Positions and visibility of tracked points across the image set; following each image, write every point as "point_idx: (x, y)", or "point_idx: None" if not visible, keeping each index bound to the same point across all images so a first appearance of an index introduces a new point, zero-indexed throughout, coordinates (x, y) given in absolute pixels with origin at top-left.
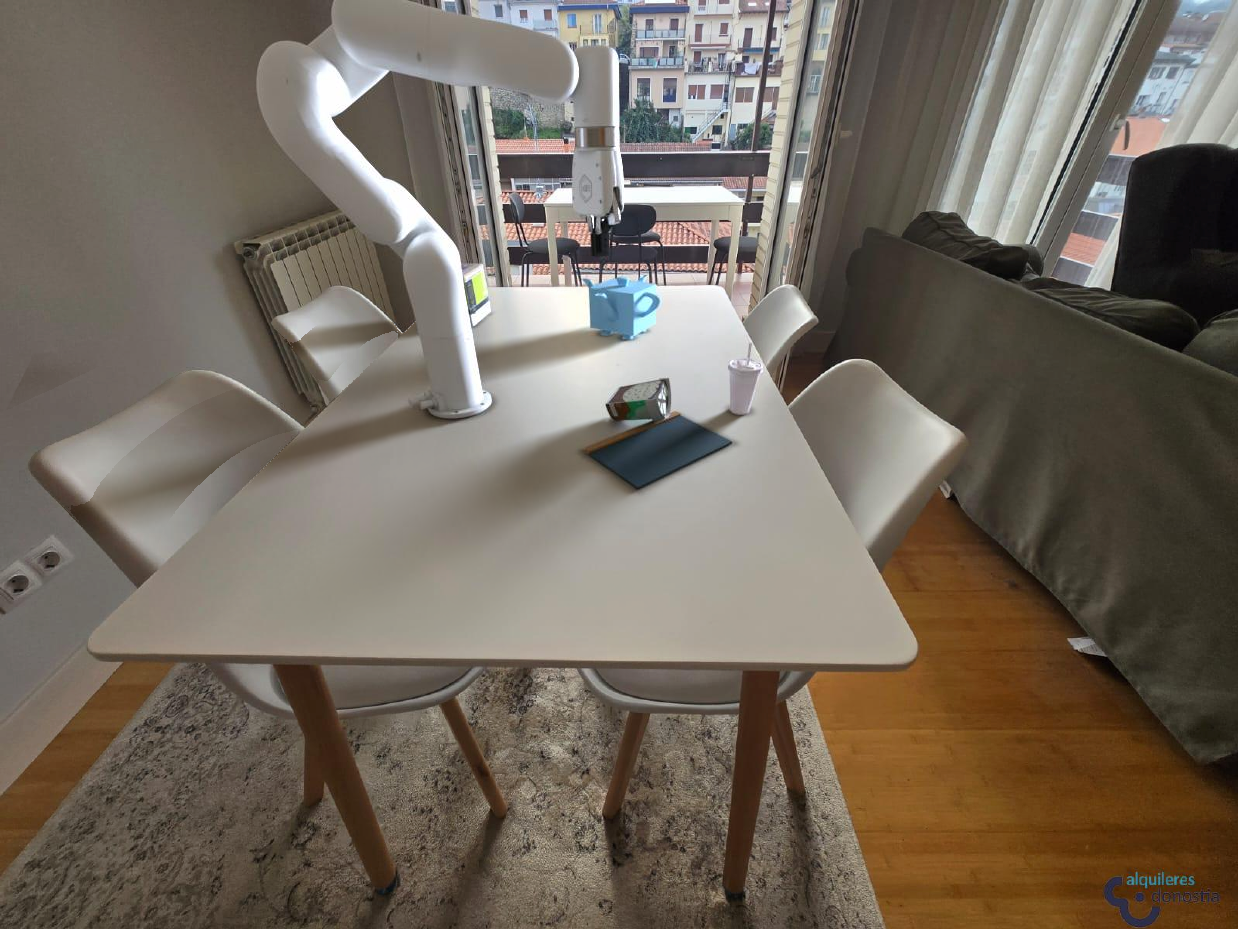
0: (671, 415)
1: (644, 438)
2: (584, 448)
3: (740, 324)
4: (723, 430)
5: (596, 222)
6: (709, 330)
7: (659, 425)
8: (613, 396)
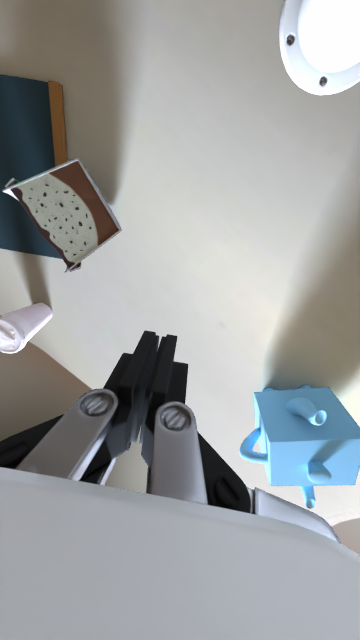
0: None
1: None
2: (58, 82)
3: None
4: (18, 264)
5: (85, 447)
6: None
7: None
8: (96, 193)
